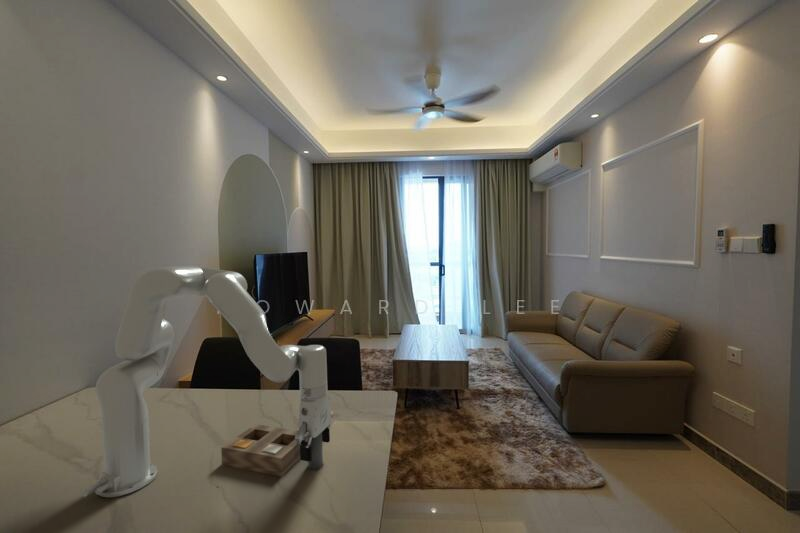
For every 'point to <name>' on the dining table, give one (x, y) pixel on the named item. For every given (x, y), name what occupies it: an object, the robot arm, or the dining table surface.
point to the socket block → (263, 450)
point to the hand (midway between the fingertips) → (315, 450)
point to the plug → (316, 453)
